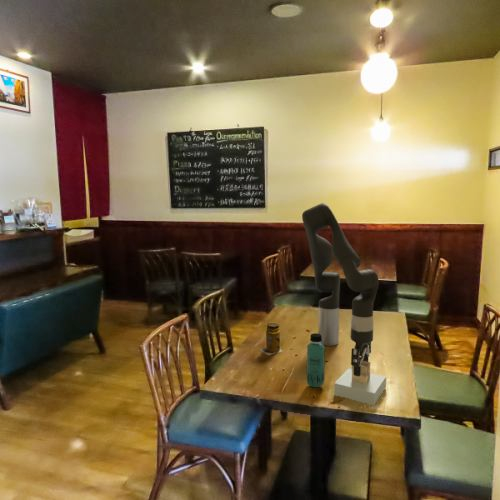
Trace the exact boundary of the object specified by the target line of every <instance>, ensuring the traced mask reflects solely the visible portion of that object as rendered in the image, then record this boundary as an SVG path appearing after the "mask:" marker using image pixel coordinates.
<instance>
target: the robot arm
mask: <svg viewBox="0 0 500 500" xmlns="http://www.w3.org/2000/svg"><path fill="white" fill-rule="evenodd" d="M301 215H302V216H301V217H302V222H303V223H302V224H303V227H304V230H305V234H306V237H307V240H308V246H309V253H310V257H311V261H312V267H313V271H314V282H315V283H314V284H315V288H316V290H317V292H320V293H331V295H330V296H327V297H324V298H321V299H319V300H318V334H321V336H322V341H321V342H320V343H322V344H323V345H324V346H327V347H328V346H331V347H332V346H337V345H338V344H339V334H340V333H339V331H340V290H341V287H340V286H341V275H340V274H339V272H333V271H332V272H331V271H326V270H327V268H329V267H330V266H331V264H332V263H333V260H334V259H335V260H336V261H337V263H338V264H339V266H340V267H341V269H342V272H343V276H344V277H345V281H346V284H347V286H348V287H349V289H350V290H351V291H352V292H355V293H359V295H357V296H355V297H354V298H353V299H352V301H351V302H352V304H351V318H350V340H351V341H353V342H354V343H355V345H353V346H354V347H352V348H351V354H350V355H351V357H350V366H351V367H352V366H354V375H355V376H360V374H361V362H362V361H366V362H369V357H370V354H372V342H373V341H374V316H373V315H374V302H375V300H376V296H377V293H378V289H379V283H380V280H379V276H378V274H377V272H376V271H375V270H373V269H362V270H358V268H359V267H361V264H362V260H361V258H360V256H359V255H358V254H357V252H356V251H355V249H354V248H353V247H352V245H351V244H350V243H349V241H348V239H347V237H346V236H345V233H344V231H343V230H342V227H341V226H340V223H339V222H338V220H337V218H336V216H335V215H334V212H333V211H332V209H331V208H330V206H329V205H328V204H327V203H324V202H322V203H319V204H316V205H315V206H312V207H310V208H308V209H306V210H305V211H303V212H302V214H301ZM328 227H329V229H330V230H331V234H332V240H331V241H332V242H331V243H330V241H328V240H327V239H326V238H324V237H322V236H320V235H318V232H319V231H322V230H323V229H325V228H328ZM356 360H357V362H356Z"/></svg>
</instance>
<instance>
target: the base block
mask: <svg viewBox="0 0 500 500" xmlns="http://www.w3.org/2000/svg"><path fill="white" fill-rule="evenodd" d="M385 388H386V389H387V376H385V375H380V374H377V373H373V372H370V379H369V380H368V382H367V383H366V384H363V383H359V382H355V381H352V368H350V367H349V368H348V367H347V369H346V370H345V371H344V372H343V373H342V375H341V376H340V377H339V378H338V379H337V380H336V381H335V382H334V388H333V389H334V393H333V394H334V396H336V397H339V396H340V398H343V397H345V398H344V399H347V398H349V399H348V400H350V399H353V400H352V401H354V400H356V401H355V402H358V401H359V402H358V403H361V402H363V403H362V404H365V403H367V404H366V405H369V404H371V405H370V406H373V405H375V406H376V404H377V403H376V402H378V401H379V400H380V398H381V397H382V395H383V394H384V392H385V391H384V390H386V389H385ZM383 391H384V392H383ZM382 393H383V394H382ZM381 394H382V395H381ZM380 396H381V397H380ZM379 397H380V398H379ZM378 399H379V400H378ZM377 400H378V401H377ZM375 403H376V404H375Z"/></svg>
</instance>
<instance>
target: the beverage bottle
mask: <svg viewBox="0 0 500 500" xmlns="http://www.w3.org/2000/svg"><path fill="white" fill-rule="evenodd" d="M309 339H310V340H309V341H310V343H308V344H307V345H306V348H307V349H306V351H307V352H306V353H307V354H306V383H307V385H308V386H310V387H314V388H315V387H316V388H318V387H321V386H323V385H324V383H325V368H326V367H325V349H326V347H325V345H323V344H322V343H320V342H321V341H322V336H321V334H319V332H318V333H317V332H314V333H311V334H310V338H309Z"/></svg>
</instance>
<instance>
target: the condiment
mask: <svg viewBox="0 0 500 500" xmlns="http://www.w3.org/2000/svg"><path fill="white" fill-rule="evenodd" d="M265 333H266V334H265V336H266V337H265V339H266V341H265V343H266V347H264V348H260V349H259V351H260V352H262V353H263V354H265V355H267V356H271V355H274V354H279V353H282V352H284V350H282V349H281V339H280V338H281V333H280V325H279V323H276V322H271V323H268V324H267V325H266V332H265Z"/></svg>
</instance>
